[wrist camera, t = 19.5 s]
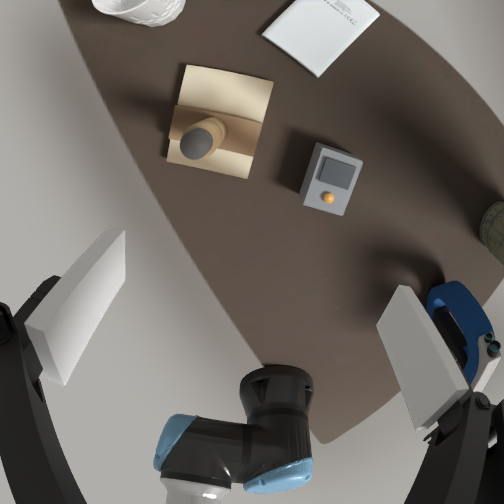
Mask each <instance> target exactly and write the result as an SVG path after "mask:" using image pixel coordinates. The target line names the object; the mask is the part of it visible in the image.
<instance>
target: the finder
mask: <svg viewBox="0 0 504 504" xmlns="http://www.w3.org/2000/svg"><path fill="white" fill-rule="evenodd" d="M362 164H363V161H362V160H360V159H359V158H357V157H356V156H355V155H353V154H350V153H347V152H345V151H342V150H339V149H336V148H333V147H330V146H327V145H324V144H321V143H318V142H316V144H315V147H314V150H313V153H312V156H311V159H310V162H309V166H308V169H307V172H306V175H305V178H304V181H303V184H302V187H301V190H300V193H299V195H300V198H301V200H302V203H303V205H306V206H309V207H313V208H316V209H320V210H323V211H327V212H330V213H334V214H337V215H340V216H343V214H344V211H345V209H346V206H347V204H348V201H349V198H350V196H351V193H352V191H353V188H354V185H355V183H356V180H357V177H358V175H359V172H360V169H361V167H362Z"/></svg>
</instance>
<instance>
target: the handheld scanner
mask: <svg viewBox="0 0 504 504" xmlns="http://www.w3.org/2000/svg"><path fill="white" fill-rule="evenodd" d="M449 311H450V312H451V314H452V315H453V317H454V318H455V320H456V322H457V323H458V325H459V327H460V328H459V327H458V325H457V324H456V322H455V321H454V319H453V318H452V316H451V315H450V313H449ZM426 312H427V314H428V315H429V317H430V318H431V320H432V322H433V323H434V325H435V327H436V328H437V330H438V332H439V333H440V335H441V337H442V338H443V340H444V342H445V344H446V345H447V346H448V347H449V348H450V349H451V351H452V352H453V353H454V355H455V357H456V359H457V362H459V364H460V366H461V369H462V370H463V372H464V374H465V376H466V377H467V379H468V381H469V383H470V385H471V387H472V389H473V391H474V392H475V391H479V392H481V391H482V390H483V388H484V386H485V385H486V383H487V381H488V380H489V378H490V376H491V375H492V373H493V371H494V369H495V367H496V365H497V364H498V362H499V360H500V358H501V353H500V348H501V345H500V343H499V342H498V341H496V340H495V336H494V331H493V328H492V326H491V323H490V321H489V319H488V317H487V316H486V314H485V312H484V310H483V309H482V307H481V306H480V305H479V303H478V302H477V300H476V299H475V298H474V296H473V295H472V294H471V293H470V291H469V290H468V289H467V288H466V287H465V286H464V285H463V284H462V283H460V282H458V281H451V282H447V283H444V284H441V285H438V286H435V287H433V288H432V289H431V290H430V292H429V294H428V298H427V305H426ZM460 329H461V330H462V331H461V330H460ZM462 332H463V333H462ZM463 334H464V335H463Z"/></svg>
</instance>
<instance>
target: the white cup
mask: <svg viewBox="0 0 504 504" xmlns="http://www.w3.org/2000/svg"><path fill="white" fill-rule="evenodd" d="M185 2H186V0H92V3H93V5H94V7H95V8H96V9H97V10H99V11H100V12H102V13H105V14H108V15H112V16H115V17H118V18H121V19H124V20H127V21H130V22H134V23H137V24H142V25H145V26H149V27H155V26H163V25H165V24H167V23H169V22H170V21H172V20H174V19H175V18H176V17H177V16H178V15H179V14H180V13H181V12H182V10H183V8H184V5H185Z"/></svg>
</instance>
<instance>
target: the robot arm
mask: <svg viewBox="0 0 504 504" xmlns="http://www.w3.org/2000/svg"><path fill="white" fill-rule="evenodd" d="M124 281H125V229H124V228H119V227H114V226H110V227H109V228H108V229H107V230H106V231H105V232H104V233H103V234H102V235H101V236H100V237H99V238H98V239H97V240H96V241H95V242H94V243H93V244H92V245H91V246H90V247H89V248H88V249H87V250H86V251H85V252H84V253H83V254H82V255H81V257H80V258H79V259H78V260H77V261H76V262H75V263H74V264H73V265H72V266H71V267H70V269H69V270H68V271H67V272H66V273H65V274H64V275H63V276H62V277H59V276H55V275H54V276H52V277H50V278H48V279H47V280H45V281H43V282H42V284H41V285H40V286H39V287H38V288H37V289H36V291H35V292H34V293H33V294H32V295H31V297H30V298H28V300H27V301H26V302H25V303H24V304H23V306H22V307H21V308H20V309H19V310H18V312H17V313H16V314H15V315H14V317H12V314H11V311H10V308H9V307H8V306H7V305H6V304H4V303H1V302H0V456H1V460H2V463H3V467H4V471H5V474H6V477H7V480H8V483H9V486H10V489H11V492H12V494H13V497H14V500H15V502H16V504H87V503H86V501H85V499H84V497H83V495H82V493H81V491H80V489H79V487H78V485H77V483H76V481H75V479H74V477H73V474H72V472H71V470H70V468H69V465H68V463H67V461H66V458H65V456H64V453H63V451H62V448H61V446H60V443H59V441H58V438H57V435H56V432H55V429H54V426H53V423H52V420H51V417H50V414H49V411H48V407H47V404H46V400H45V396H44V393H43V389H42V385H41V382H40V379H39V375H40V374H41V372H42V370H43V371H44V373H45V375H46V377H47V379H48V380H50V381H53V382H55V383H57V384H60V385H62V386H64V387H65V386H66V384H67V382H68V380H69V377H70V375H71V373H72V372H73V370H74V368H75V366H76V364H77V362H78V360H79V358H80V356H81V354H82V353H83V350H84V349H85V347H86V345H87V343H88V342H89V340H90V338H91V336H92V335H93V333H94V331H95V329H96V327H97V326H98V324H99V322H100V320H101V319H102V317H103V315H104V314H105V312H106V310H107V309H108V307H109V305H110V304H111V302H112V300H113V299H114V297H115V295H116V294H117V292H118V290H119V289H120V287H121V286H122V284H123V283H124ZM376 327H377V330H378V332H379V335H380V337H381V339H382V342H383V344H384V347H385V349H386V352H387V354H388V357H389V359H390V362H391V364H392V367H393V369H394V372H395V375H396V377H397V380H398V383H399V385H400V388H401V391H402V393H403V396H404V399H405V402H406V405H407V408H408V410H409V413H410V416H411V419H412V423H413V426H414V428H415V430H422V429H428V428H429V427H430V426H431V425H433V424H434V423H435V422H436V421H438V424H439V426H438V427H437V428H436V429H434V430H433V431H432V432H431V433H430V434H428V435H427V436H426V437H425V438H424V440H423V441H426V440H427V439H429V438H430V437H432V438H431V440H430V441H429V442H428V444H429V447H428V449H427V453H426V455H425V457H424V460H423V462H422V465H421V467H420V470H419V472H418V474H417V477H416V479H415V481H414V484H413V486H412V488H411V490H410V492H409V494H408V496H407V498H406V500H405V503H404V504H504V399H503V400H502V401H501V402H500V403H499V404H498V405H492V404H491V403H490V401H489V399H488V398H487V396H486V395H484V394H483V393H481V392H479V391H475V392H474V391H473V389H472V387H471V385H470V383H469V381H468V379H467V377H466V376H465V374H464V372H463V370H462V369H461V366H460V364H459V362H457V359H456V357H455V355H454V353H453V352H452V351H451V349H450V348H449V347H448V346H447V345H446V344H445V342H444V340H443V338H442V337H441V335H440V333H439V332H438V330H437V328H436V327H435V325H434V323H433V322H432V320H431V318H430V317H429V315H428V314H427V312H426V310H425V309H424V307H423V306H422V304H421V303H420V301H419V299H418V298H417V296H416V295H415V293H414V292H413V290H412V289H411V287H408V286H403V285H398V287H397V289H396V291H395V293H394V295H393V296H392V298H391V300H390V302H389V304H388V306H387V307H386V309H385V311H384V313H383V314H382V316H381V318H380V320H379V321H378V323H377V325H376ZM313 393H314V388H313V381H312V378H311V377H310V375H309V374H308V373H306V372H305V371H303V370H301V369H298V368H295V367H290V366H269V367H264V368H260V369H257V370H254V371H252V372H250V373H249V374H247V375H246V376H245V377H244V378H243V379H242V381H241V383H240V398H241V401H242V404H243V407H244V410H245V413H246V416H247V424H242V423H234V422H227V421H220V420H214V419H208V418H203V417H199V416H197V415H196V416H190V415H184V414H175V415H173V416H172V417H170V418H169V420H168V421H167V423H166V425H165V427H164V429H163V431H162V434H161V436H160V439H159V442H158V445H157V448H156V454H155V457H154V463H153V466H154V468H155V469H156V470H158V471H160V472H161V477H160V481H161V482H162V483H163V485H164V486H165V487H166V489H167V491H168V493H167V499H166V504H220V500H221V498H222V497H224V496H225V495H226V494H228V493H229V492H230V491H231V483H242V484H243V487H244V490H245V491H246V492H249V493H256V494H259V493H260V494H263V493H274V492H281V491H287V490H291V489H294V488H297V487H300V486H302V485H304V484H306V483H307V482H308V481H309V480H310V479H311V477H312V461H313V458H312V453H311V444H310V433H309V424H308V412H309V408H310V405H311V401H312V397H313ZM496 437H497V443H496V444H494V445H493V446H492V447H491V448H488V443H490V442H491V441H492V440H493V439H495V438H496Z"/></svg>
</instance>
